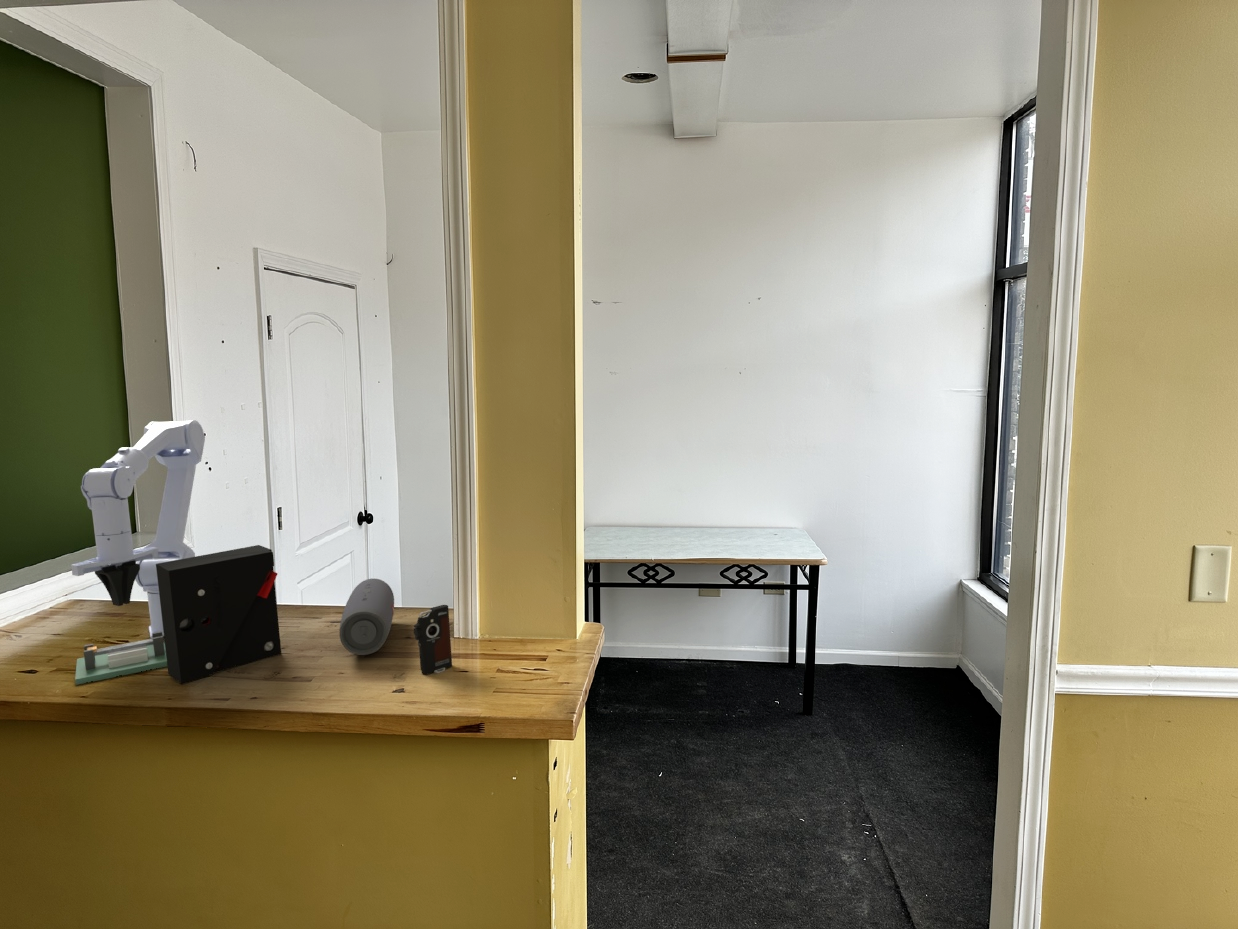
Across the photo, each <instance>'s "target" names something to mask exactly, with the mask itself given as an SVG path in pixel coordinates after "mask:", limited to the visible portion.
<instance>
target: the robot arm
mask: <svg viewBox="0 0 1238 929" xmlns="http://www.w3.org/2000/svg"><path fill="white" fill-rule="evenodd" d="M205 442H206V436H205V433H204V429H203V427H202V425H201V423H200V422H199V421H198V420H196V419H191V420H177V421H150V422H149V423H148V424H147V425H146V426H144V428H143V436H142V437H141V438H140V439H139V440H138V441H137V443H135V445H134V446H132V447H131V446H130V447H129V446H128V447H127V446H126V447H120V448H119V449H118V450H117V453H115V455H114V456H112V457H111V458H110V459H108V460H106V461H105V462H104V463H103V464H102V465H101V466H100V468H99V467H98V468H92V469H91V468H90V469H89V470H88V471H87V472H85V474H84V475H83V477H82V479H81V485H80V490H81V493H82V496H83V497H84V498H85V499H86V502H87V508H88V509H89V510H91V513H92V522H93V530H94V539H95V547H96V556H97V557H93V558H90V559H87V560H84V561H80V562H77V563H73V564H70V567H71V574H72V576H76V577H80V576H84V575H85V574H90V573H93V572H94V575H96V577H97V578H98V579H99V580H100V581H101V583H102V584H103V586H104V587H105V589H106V591H107V592H108V595H109V597H110V599H111V602H112V605H113V606H116V607H121V606H124V604H125V605H128V604H130V603H131V597H132V596H131V595H132V591H133V589H134V588H133V587H134V583H135V582H136V583H137V585H138V587H140V588H142V590H143V592H145V593H146V594H147V602H148V610H149V619H150V621H149V622H150V625H149V626H148V631H149V637H150V638H149V639H152V633H155V632H161V631H162V636H163V637H164V631H163V622H162V614H161V605H160V596H159V587H158V579H157V570H156V564H158V563H163V562H169V561H174V560H180V559H185V558H190V557H196V552H195V551H194V550H193V549H192V548H191V547H190V546H189V545H187V544H186V543H184V540H185V534H186V528H187V523H188V517H189V510H190V505H191V499H192V493H193V486H194V482H195V474H196V468H197V465H198V464H200V462H201V461H202V459H203V453H204V449H205V448H204V447H205ZM153 457H154V458H155V459H156V461H157V462H158V463H159V464H160V465H163V466H165V467H166V468H167V472H166V473H167V474H166V480H165V483H164V490H163V495H162V501H161V507H160V511H159V512H160V513H159V517H158V523H157V528H156V534H155V538H154V540H152V541H151V542H150V543H149V544H147V545H146V546H144V548H140V549H134V544H133V543H134V542H133V535H132V534H133V532H132V526H131V519H130V518H131V517H130V509H129V502H128V501H129V500H128V498H129V497H131V495H132V493H133V491H134V486H135V484H136V482H137V479H139V478H140V477H141V476H142V475H143V474H144V473H145V472H147V470H148V469H149V464H150V463H149V462H150V460H151V459H152V458H153Z"/></svg>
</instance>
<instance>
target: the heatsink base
mask: <svg viewBox="0 0 1238 929" xmlns="http://www.w3.org/2000/svg"><path fill="white" fill-rule="evenodd" d="M152 638H153V645H148V646H143V647H138V648H133V649H128V650H123V651H118V652H112V653H107V654H102V655H97V656H94V653H93V649H91V650H87V648H89V647H94V646H95V645H94V643H90V644H85V645H83V649H84V650H83V657H80V658H79V657H78V658H77V659H76V667H75V678H74V683H75V685H76V686H79V685H83V684H87V683H86V682H88V683H92V682H91V681H93V682H97V681H103V680H107V679H111V678H116V676H118V677H120V676H119V675H122V676H127V675H133V674H136V673H142V672H145V671H146V670H147V671H151V670H150V669H152V670H157V669H162V668H168V666H167V657H166V649H165V641H164V636H162V631H161V632H155V633H152ZM152 638H151V639H152ZM156 668H157V669H156ZM141 671H142V672H141Z"/></svg>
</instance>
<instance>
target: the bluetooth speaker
mask: <svg viewBox="0 0 1238 929" xmlns="http://www.w3.org/2000/svg"><path fill="white" fill-rule="evenodd" d="M394 613H395V595H394V592H393V589H392V588H391V586H390V585H389V584H388V583H387V582H386V581H385V580H382V579H379V578H368V579H364V580H363V581H361V582H360V583H358V584H357V585H356V586H355V587H354V589H353V590H352V591H351V594H350V595H349V597H348V599H347V601H346V603H345V606H344V609H343V612H342V614H341V615H342V616H341V619H340V624H339V628H338V630H339V641H340V642H341V645H342V647H343V648H345V650H346V651H347V652H349V653H351V654H352V655H353V654H354V655H358V656H365V655H370V654H373V653H375V652H377V651H378V650H380V649H381V648H382V646H383V645H384V644H385V642H386V640H387V639H388V636H389V633H390V630H391V628H392V627H391V626H392V624H393V619H394Z"/></svg>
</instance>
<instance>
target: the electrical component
mask: <svg viewBox="0 0 1238 929" xmlns="http://www.w3.org/2000/svg"><path fill="white" fill-rule="evenodd" d="M274 567H275V559H274V551H272V549H271V548H268V547H266V546H263V545H259V544H257V545H251V546H245V547H241V548H235V549H231V550H230V549H229V550H225V551H223V550H222V551H219V552H214V553H207V554H203V555H198V556H197V555H195V557H190V558H185V559H180V560H174V561H169V562H163V563H158V564H156V570H157V579H158V587H159V596H160V605H161V614H162V622H163V631H164V636H163V641H164V642H165V649H166V657H167V673H168V675H169V676H170V677H172V678H173V679H174V680H175V681H176V682H178V683H179V684H180V685H185V684H188V683H191V682H194V681H198V680H201V679H204V678H207V677H210V676H211V675H212V676H213V675H214V674H216V673H218V672H222V671H227V670H229V669H233V668H237V667H240V666H244V665H249V664H250V663H254V662H257V661H261V660H265V659H269V658H272V657H276V656H280V655H282V646H281V635H280V634H281V633H280V626H279V625H280V622H279V616H278V614H279V612H278V603H277V592H276V584H275V580H276V579H277V576H278V572H276V571H274Z"/></svg>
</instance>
